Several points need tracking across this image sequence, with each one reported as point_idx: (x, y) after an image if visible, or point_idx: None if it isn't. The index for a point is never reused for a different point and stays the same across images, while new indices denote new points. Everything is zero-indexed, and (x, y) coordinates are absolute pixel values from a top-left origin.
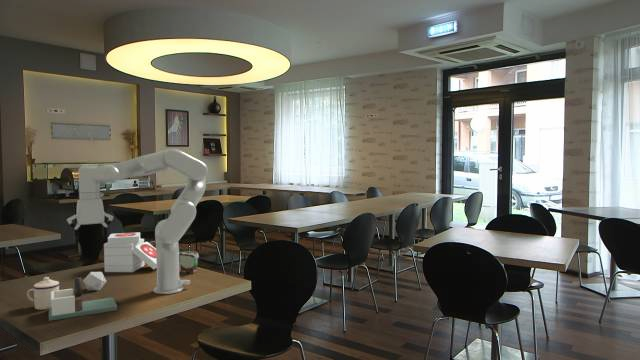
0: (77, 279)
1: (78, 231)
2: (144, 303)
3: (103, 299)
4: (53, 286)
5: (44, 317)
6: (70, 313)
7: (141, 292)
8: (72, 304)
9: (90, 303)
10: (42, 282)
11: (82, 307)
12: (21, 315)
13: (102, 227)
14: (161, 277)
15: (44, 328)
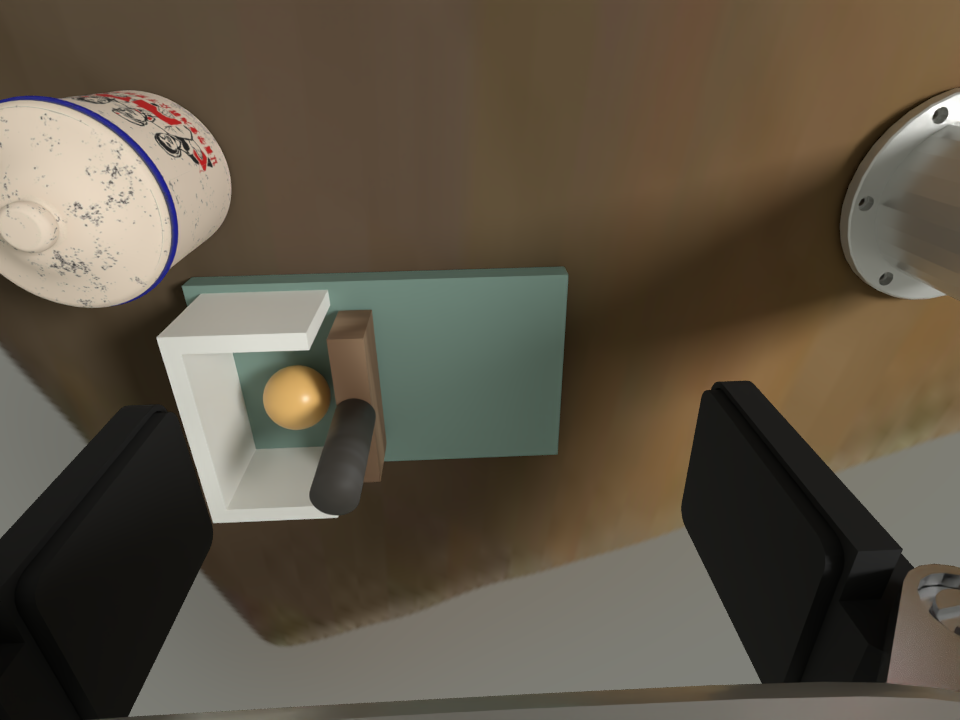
0: (335, 511)
1: (120, 703)
2: None
3: (506, 293)
4: (146, 289)
5: None
6: None
7: (779, 144)
8: None
9: (428, 340)
10: (25, 262)
11: (385, 395)
12: None
13: (821, 542)
14: (955, 289)
15: (242, 535)
